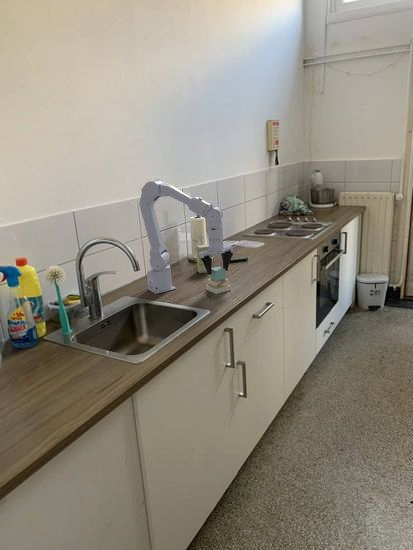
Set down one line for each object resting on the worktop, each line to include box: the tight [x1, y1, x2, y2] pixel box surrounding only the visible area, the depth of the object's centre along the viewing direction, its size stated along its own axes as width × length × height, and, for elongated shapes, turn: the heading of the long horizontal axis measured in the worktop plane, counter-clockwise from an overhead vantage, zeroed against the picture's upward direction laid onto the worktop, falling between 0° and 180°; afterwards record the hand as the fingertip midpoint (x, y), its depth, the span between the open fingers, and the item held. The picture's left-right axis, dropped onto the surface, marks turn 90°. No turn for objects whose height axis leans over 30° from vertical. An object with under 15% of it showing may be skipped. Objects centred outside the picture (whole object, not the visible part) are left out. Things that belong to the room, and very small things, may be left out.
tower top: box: [207, 278, 230, 289], centre depth 166 cm, size 6×6×2 cm
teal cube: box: [209, 266, 227, 282], centre depth 165 cm, size 4×4×4 cm
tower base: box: [206, 284, 232, 295], centre depth 167 cm, size 7×7×2 cm
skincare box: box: [196, 244, 213, 274], centre depth 191 cm, size 6×4×12 cm
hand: (217, 272), depth 165 cm, fingers open, 7 cm apart
